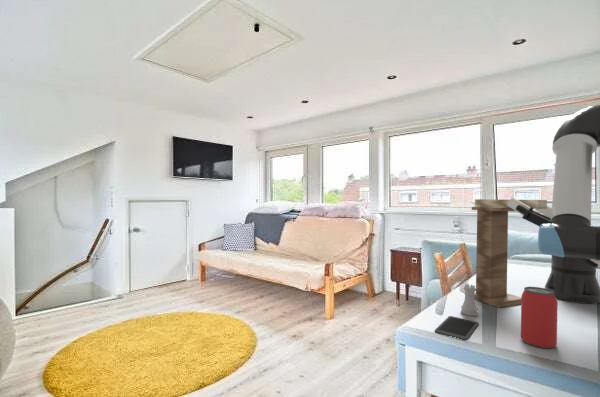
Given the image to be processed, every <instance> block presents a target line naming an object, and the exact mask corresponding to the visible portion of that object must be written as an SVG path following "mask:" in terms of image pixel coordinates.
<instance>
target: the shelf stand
mask: <svg viewBox="0 0 600 397" xmlns="http://www.w3.org/2000/svg"><path fill="white" fill-rule="evenodd" d="M471 211H476V257H475V258H476V260H475V264H476V266H475V268H476V269H475V271H476V272H475V275H476V276H475V288H476V291H475V292H474V294H475V296H474V299H475V301H477V302H481V303H484V304H488V305H490V306H494V307H497V308H499V309H500V308H505V306H506V307H512V306H517V305H521V297H522V296H518V295H513V294H510V293H507V292H508V288H507V287H508V247H509V246H508V243H509V242H508V241H509V240H508V238H509V237H508V236H509V235H508V234H509V233H508V232H509V212H516V211H515V210H513V209H512V208H499V207H475V206H471ZM516 304H517V305H516ZM511 305H512V306H511Z"/></svg>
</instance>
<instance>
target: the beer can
mask: <svg viewBox="0 0 600 397" xmlns="http://www.w3.org/2000/svg"><path fill="white" fill-rule="evenodd" d="M554 294H555V292H554V291H552V290H549V289H545V287H538V286H525V287H524V289H523V291H522V294H521V296H520V297H521V304H520V305H521V306H520V310H521V311H520V338H521V340H522V341H523V342H525V343H527V345H530V346H533V347H536V348H539V349H540V348H542V349H552V348H555V347H557V346H558V345H557V344H558V303H559V302H558V301H557V300H558V298H556V297H555V295H554Z"/></svg>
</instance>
